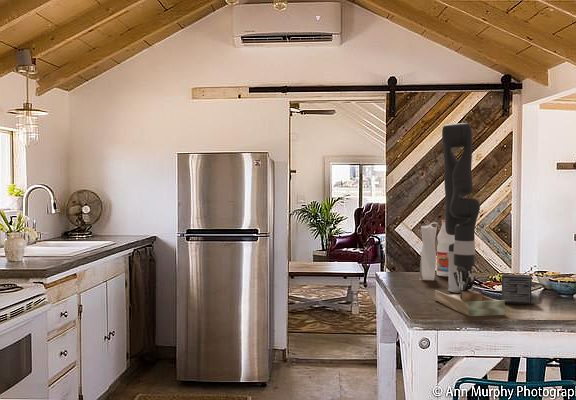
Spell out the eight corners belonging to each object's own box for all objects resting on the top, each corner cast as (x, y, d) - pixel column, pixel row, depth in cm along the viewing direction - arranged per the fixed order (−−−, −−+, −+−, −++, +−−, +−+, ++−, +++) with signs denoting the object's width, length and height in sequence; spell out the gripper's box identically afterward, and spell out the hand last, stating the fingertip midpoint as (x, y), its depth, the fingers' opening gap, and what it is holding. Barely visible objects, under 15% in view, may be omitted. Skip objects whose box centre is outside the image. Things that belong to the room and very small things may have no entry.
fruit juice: (453, 273, 289) (453, 219, 289) (458, 276, 280) (458, 220, 279) (434, 273, 290) (435, 219, 289) (438, 276, 280) (439, 220, 280)
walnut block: (474, 304, 204) (474, 290, 204) (481, 307, 199) (481, 293, 199) (461, 305, 203) (462, 291, 203) (468, 308, 198) (468, 293, 198)
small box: (530, 301, 220) (530, 274, 219) (531, 305, 213) (531, 277, 213) (501, 299, 223) (501, 273, 223) (501, 303, 217) (502, 276, 217)
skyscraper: (437, 278, 276) (437, 221, 275) (437, 281, 268) (438, 222, 267) (419, 278, 277) (419, 221, 277) (419, 280, 270) (419, 222, 269)
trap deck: (466, 299, 224) (466, 286, 224) (504, 314, 197) (504, 300, 197) (434, 300, 222) (434, 287, 222) (468, 316, 194) (469, 301, 194)
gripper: (483, 254, 200) (482, 303, 200) (465, 250, 213) (464, 296, 213) (463, 255, 199) (462, 303, 199) (446, 250, 212) (446, 296, 212)
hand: (463, 299), depth 206 cm, fingers closed
